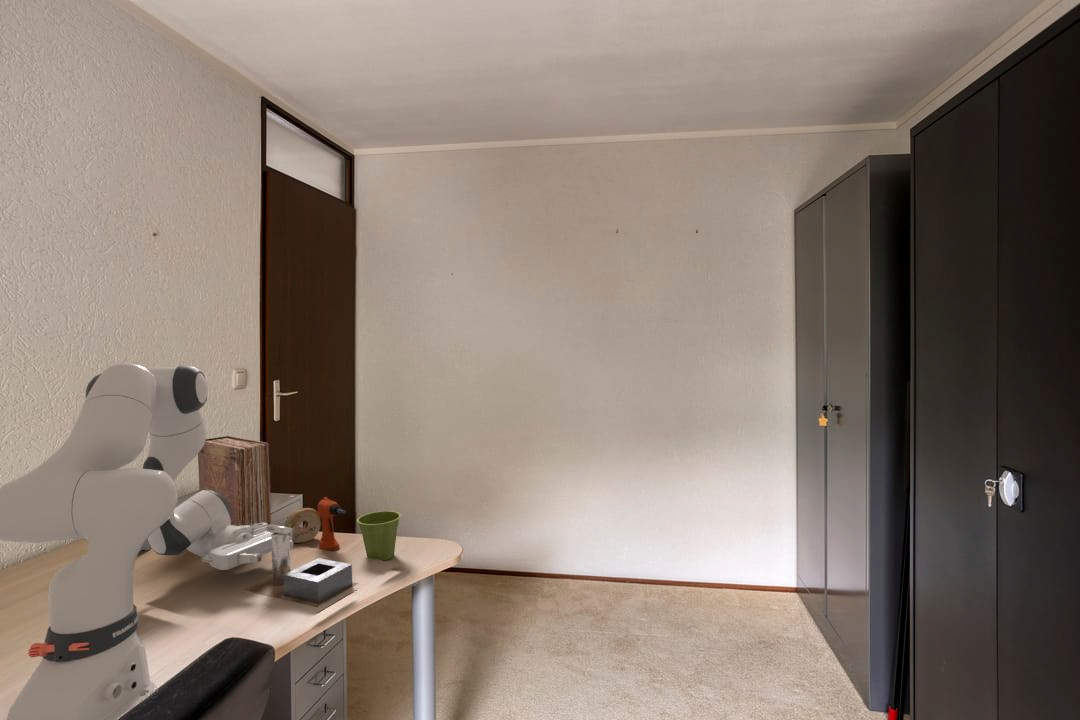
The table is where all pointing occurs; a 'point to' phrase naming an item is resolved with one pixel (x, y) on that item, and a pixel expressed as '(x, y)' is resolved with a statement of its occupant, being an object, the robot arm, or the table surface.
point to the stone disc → (308, 529)
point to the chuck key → (280, 552)
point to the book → (238, 477)
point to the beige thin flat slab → (271, 590)
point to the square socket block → (317, 580)
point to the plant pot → (379, 533)
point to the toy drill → (328, 523)
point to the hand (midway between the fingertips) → (275, 551)
